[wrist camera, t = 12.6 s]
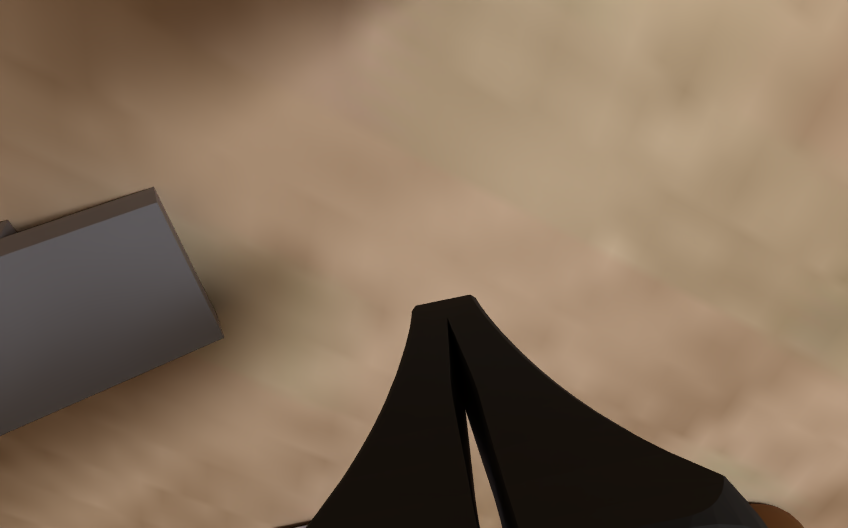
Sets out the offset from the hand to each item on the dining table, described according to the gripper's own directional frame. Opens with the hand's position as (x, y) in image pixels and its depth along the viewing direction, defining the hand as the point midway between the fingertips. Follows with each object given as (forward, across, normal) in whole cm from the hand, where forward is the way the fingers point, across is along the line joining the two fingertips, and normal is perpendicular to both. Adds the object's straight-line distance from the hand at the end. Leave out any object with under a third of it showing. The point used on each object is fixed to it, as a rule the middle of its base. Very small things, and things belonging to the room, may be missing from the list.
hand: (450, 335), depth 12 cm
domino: (+6, +8, 0) cm, 10 cm away
